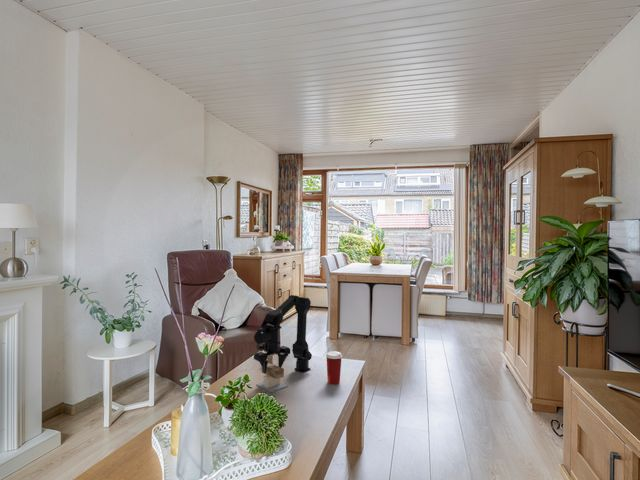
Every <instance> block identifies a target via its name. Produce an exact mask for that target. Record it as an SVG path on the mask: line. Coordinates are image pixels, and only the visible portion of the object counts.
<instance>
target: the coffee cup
mask: <svg viewBox="0 0 640 480" xmlns="http://www.w3.org/2000/svg"><path fill="white" fill-rule="evenodd" d="M325 357H326V370H327V371H326V372H327V373H326V374H327V384H329V385H339V384H340V382H341V371H342V369H341V368H342V358H343V354H342V352H339V351H335V350H334V351H328V352H327V353H326V355H325Z"/></svg>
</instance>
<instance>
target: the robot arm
mask: <svg viewBox="0 0 640 480" xmlns="http://www.w3.org/2000/svg"><path fill="white" fill-rule="evenodd" d="M311 304H312V303H311V299H310V298H309V297H302V296H298V295H295V294H291V295H288V298H286V299H285V300H284V302H282V303H281V304H280V305H279V306H278V307H277V308H276V309H273V310H271V311H269V312H268V313H266V314H265V316H264V319H263V321H262V324H261V325H260V328H257V331H256V332H255V334H254V336H253V339H254V341H255V343H256V350H257V351H259V352H254V354H253V360H256V361H257V362H259V364H260V367H261V370H262V369H263V372H264V373H265V374H264V373H263V374H264V375H266V370H267V364H268V357H269V356H272V355H273V356H275V355H277V359H278V361H277V363H278V365H277V366H278V367H281V368H283V365H284V363H285V361H286V359H287V357H288V356H289V354H291V352H292V355H293V358H294V359H296V362H295V368H294V370H295V371H298V372H301V373H304V372H307V371H310V370H311V368H310V367H309V363H310V362H309V361H310V360H312V357H313V354H312V353H311V352H310V350H309V344H308V342H307V340H306V339H307V338H306V337H307V316H308V313H309V311H310V310H311ZM293 307H294V309H295V311H296V314H297V321H296V322H297V323H296V340H295V342H294V343H293V344H292V350H291V348H290V347H288V346H285V345H281V346H279V344H281V341H280V339H279V338H280V337H279V335H280V332H279V331H280V329H282V326H281V325H280V324H281V323H283V320H284V316H285V315H286V314H287V313H288V312H289V311H291V309H293Z"/></svg>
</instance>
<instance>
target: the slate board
mask: <svg viewBox="0 0 640 480" xmlns="http://www.w3.org/2000/svg"><path fill="white" fill-rule="evenodd" d="M255 385H256V386H258V387H259V388H261V387H262V388H261V389H263V390H265V391H267V392H270V393H275V392H278V391H281V390H283V389H286V388H288V387H289V386H288V385H287V384H285V383H283V382H281V378H279V379H276V378H273V377H271V376H269V375H266V374H264V375H263V381H261V382H258V383H257V384H255Z"/></svg>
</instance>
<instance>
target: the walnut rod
mask: <svg viewBox="0 0 640 480" xmlns="http://www.w3.org/2000/svg"><path fill="white" fill-rule="evenodd" d="M261 373H262V374H264V375H269V376H271V377H273V378H276V379H279V378H280V379H283V378H285V368H283V367H279V366H278V365H276V364H270V363H268V364H267V370H266V374H265V373H264V372H263V369H262V368H261Z"/></svg>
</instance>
